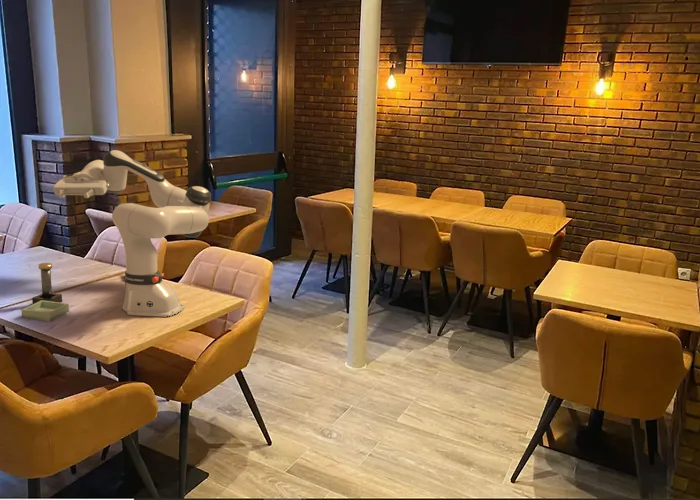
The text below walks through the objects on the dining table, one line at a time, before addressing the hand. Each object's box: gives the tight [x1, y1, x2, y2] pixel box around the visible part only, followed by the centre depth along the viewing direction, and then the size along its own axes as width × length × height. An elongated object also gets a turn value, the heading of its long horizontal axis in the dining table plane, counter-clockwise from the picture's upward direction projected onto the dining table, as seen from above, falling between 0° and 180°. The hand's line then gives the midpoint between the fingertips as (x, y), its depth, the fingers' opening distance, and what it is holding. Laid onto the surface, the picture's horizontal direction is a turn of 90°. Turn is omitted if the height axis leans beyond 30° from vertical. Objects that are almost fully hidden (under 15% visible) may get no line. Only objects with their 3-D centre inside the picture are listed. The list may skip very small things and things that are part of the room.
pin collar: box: [31, 292, 63, 305], centre depth 213 cm, size 7×7×3 cm
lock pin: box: [38, 262, 53, 299], centre depth 212 cm, size 4×4×15 cm
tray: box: [21, 300, 70, 322], centre depth 203 cm, size 11×11×3 cm
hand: (73, 196), depth 226 cm, fingers open, 8 cm apart
